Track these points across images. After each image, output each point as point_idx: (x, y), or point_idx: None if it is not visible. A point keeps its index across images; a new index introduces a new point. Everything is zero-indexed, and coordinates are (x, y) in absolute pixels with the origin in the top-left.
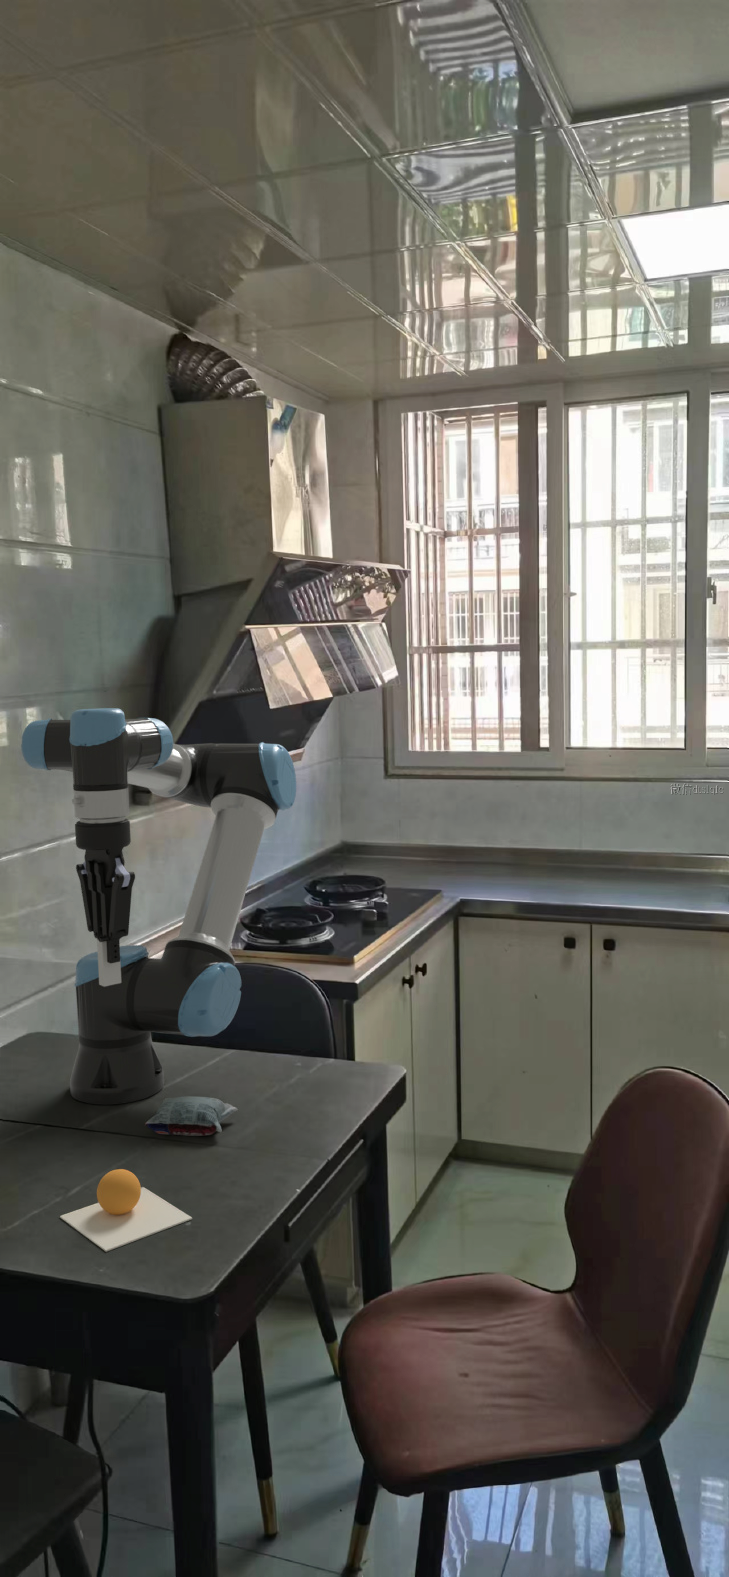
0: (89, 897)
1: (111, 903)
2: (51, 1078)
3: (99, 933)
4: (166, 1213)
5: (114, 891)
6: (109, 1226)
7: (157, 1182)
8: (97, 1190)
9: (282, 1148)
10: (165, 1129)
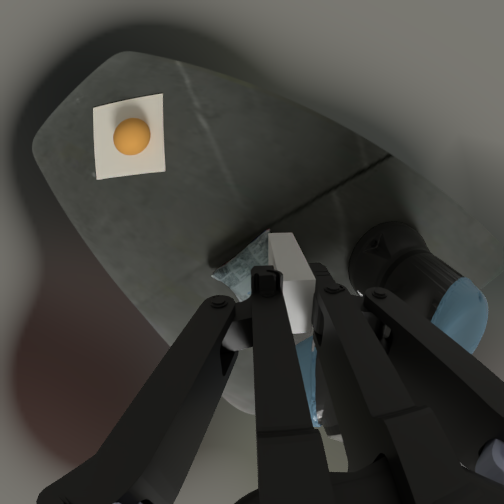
0: (438, 373)
1: (178, 397)
2: (444, 231)
3: (317, 298)
4: (112, 166)
5: (118, 450)
6: (121, 120)
7: (169, 186)
8: (135, 118)
9: (167, 298)
10: (252, 241)
